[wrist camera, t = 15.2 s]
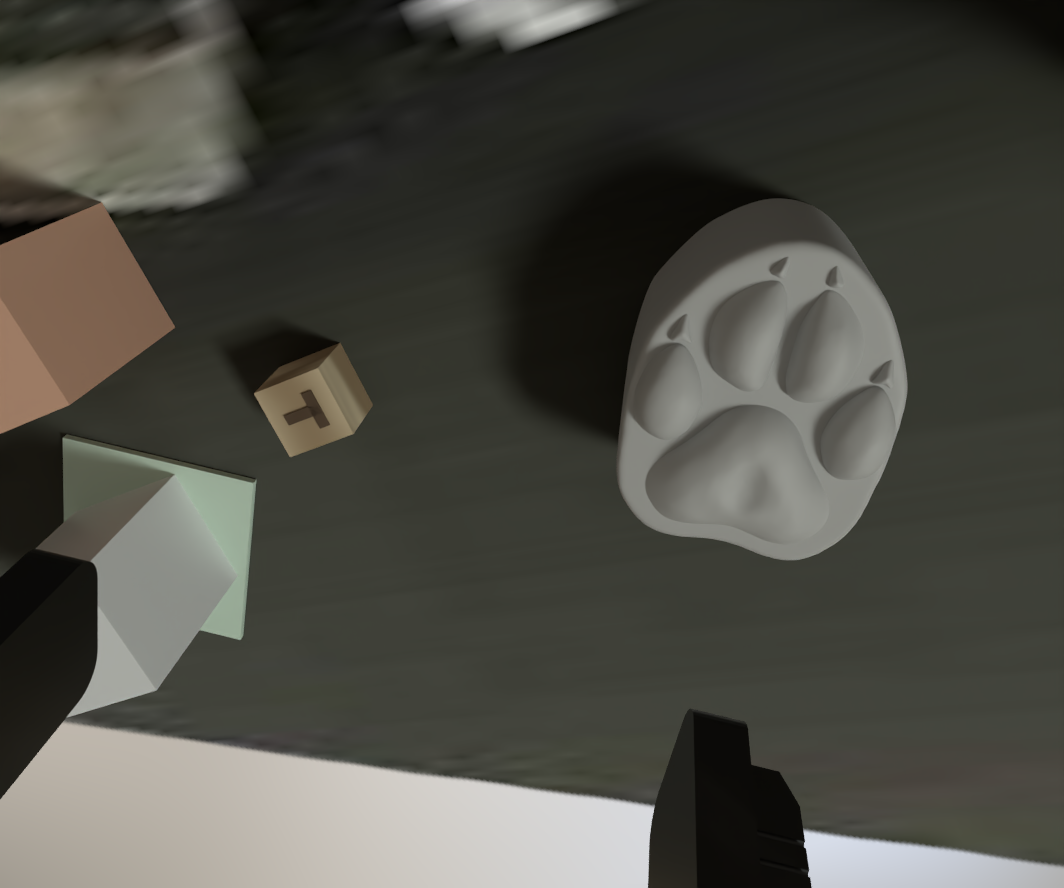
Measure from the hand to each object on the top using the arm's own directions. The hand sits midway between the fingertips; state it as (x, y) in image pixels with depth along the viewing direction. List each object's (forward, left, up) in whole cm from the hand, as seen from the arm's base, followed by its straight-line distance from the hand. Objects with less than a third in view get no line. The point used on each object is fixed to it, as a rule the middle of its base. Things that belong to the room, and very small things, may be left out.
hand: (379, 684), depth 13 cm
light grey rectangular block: (+18, +23, -33) cm, 44 cm away
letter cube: (+10, +12, -33) cm, 37 cm away
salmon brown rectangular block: (+22, +10, -33) cm, 41 cm away
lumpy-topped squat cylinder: (-9, +5, -33) cm, 35 cm away
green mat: (+18, +23, -33) cm, 44 cm away
